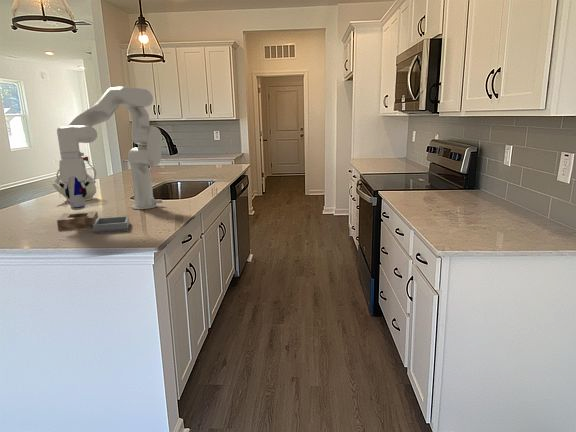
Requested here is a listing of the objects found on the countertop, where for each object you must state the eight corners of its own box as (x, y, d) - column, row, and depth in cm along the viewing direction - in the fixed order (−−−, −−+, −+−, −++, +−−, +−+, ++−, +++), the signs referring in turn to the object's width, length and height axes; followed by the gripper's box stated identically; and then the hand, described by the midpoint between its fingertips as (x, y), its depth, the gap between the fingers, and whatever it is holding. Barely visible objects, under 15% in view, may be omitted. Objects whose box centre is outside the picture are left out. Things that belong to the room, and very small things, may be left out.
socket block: (98, 219, 188) (97, 211, 187) (94, 226, 175) (93, 217, 174) (64, 221, 184) (63, 213, 183) (58, 229, 171) (56, 220, 170)
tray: (129, 223, 180) (128, 215, 179) (127, 230, 168) (127, 222, 167) (98, 225, 176) (97, 218, 175) (93, 233, 164) (92, 225, 163)
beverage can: (79, 210, 175) (74, 176, 172) (68, 210, 176) (63, 176, 173) (88, 207, 181) (83, 174, 177) (77, 207, 182) (72, 174, 178)
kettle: (91, 195, 251) (86, 155, 245) (105, 198, 239) (101, 156, 233) (48, 201, 232) (41, 158, 226) (61, 205, 220) (55, 159, 215)
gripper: (93, 154, 179) (99, 194, 183) (50, 156, 174) (56, 197, 178) (91, 155, 172) (96, 197, 176) (46, 157, 167) (53, 200, 171)
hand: (76, 196), depth 177 cm, fingers closed on beverage can, 5 cm apart
